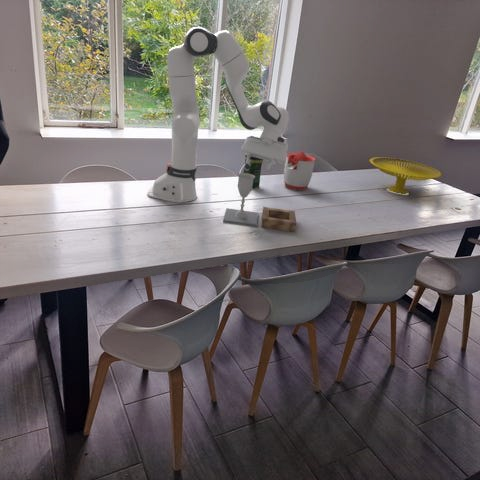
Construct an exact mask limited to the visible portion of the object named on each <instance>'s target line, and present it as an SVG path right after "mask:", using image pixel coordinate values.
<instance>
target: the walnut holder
mask: <svg viewBox="0 0 480 480" xmlns="http://www.w3.org/2000/svg"><path fill="white" fill-rule="evenodd" d="M260 226H261V228H262V229H263V228H264V229H268V230H277V231H285V232H293V233H295V232H296V228H297V218H296V211H295V210H290V209H289V210H288V209H282V208H275V207H274V208H273V207H268V206H263V208H262V212H261V225H260Z"/></svg>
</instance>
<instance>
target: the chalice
mask: <svg viewBox="0 0 480 480" xmlns="http://www.w3.org/2000/svg"><path fill="white" fill-rule="evenodd" d="M237 177H238V178H237V179H238V182H237V189H238V193H239V196H240V197H241V201H240V202H241V204H240V209H237V210H238V211H237V213H236V215H235V216H236V217H238V218H247V215H246V212H245V211H246V210H244V208H245V199H246V198H248V196H249V194H251V192H252V189H253V188H252V186H253V179H254V178H255V176H254V175H252V174H248V173H243V172H241V173H238V174H237Z"/></svg>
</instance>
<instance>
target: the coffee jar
mask: <svg viewBox="0 0 480 480" xmlns="http://www.w3.org/2000/svg"><path fill="white" fill-rule="evenodd" d="M249 159H251V163H250V164H247V163H246V160H247V155H245V154H244V168H243V172H242V173H248V174H252V175H254V176H255V178H254V179H253V186H252V189H257V188H259V187H260V183H261V172H262V164H263V162H264V159H260V158H256V157H252V156H251V157H250V158H249Z"/></svg>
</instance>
